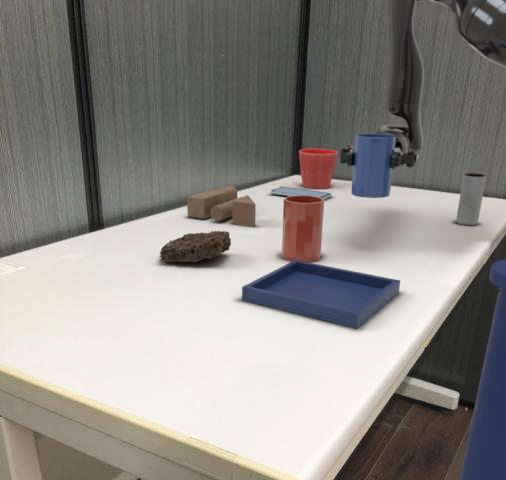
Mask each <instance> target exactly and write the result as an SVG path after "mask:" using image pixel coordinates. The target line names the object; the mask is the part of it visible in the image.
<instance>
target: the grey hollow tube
mask: <svg viewBox="0 0 506 480" xmlns="http://www.w3.org/2000/svg"><path fill="white" fill-rule="evenodd" d="M486 180H487V175H486V174H484V173H475V172H466V173H464V174H463V177H462V182H461V189H460V194H459V200H458V205H457V212H456V213H457V214H456V219H455V222H456V224H459V225H463V226H477V225H478V223H479V219H480V213H481V207H482V202H483V197H484V190H485V184H486Z"/></svg>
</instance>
